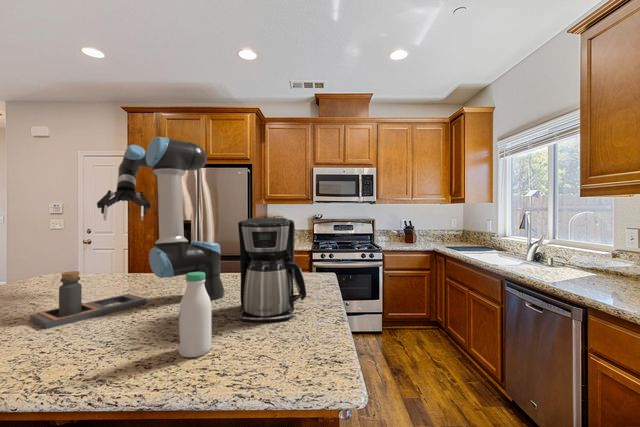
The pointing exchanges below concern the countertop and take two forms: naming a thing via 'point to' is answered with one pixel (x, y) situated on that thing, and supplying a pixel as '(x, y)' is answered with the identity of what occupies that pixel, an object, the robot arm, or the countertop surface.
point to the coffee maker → (268, 269)
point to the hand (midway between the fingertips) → (123, 218)
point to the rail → (86, 311)
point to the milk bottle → (195, 317)
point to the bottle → (70, 294)
